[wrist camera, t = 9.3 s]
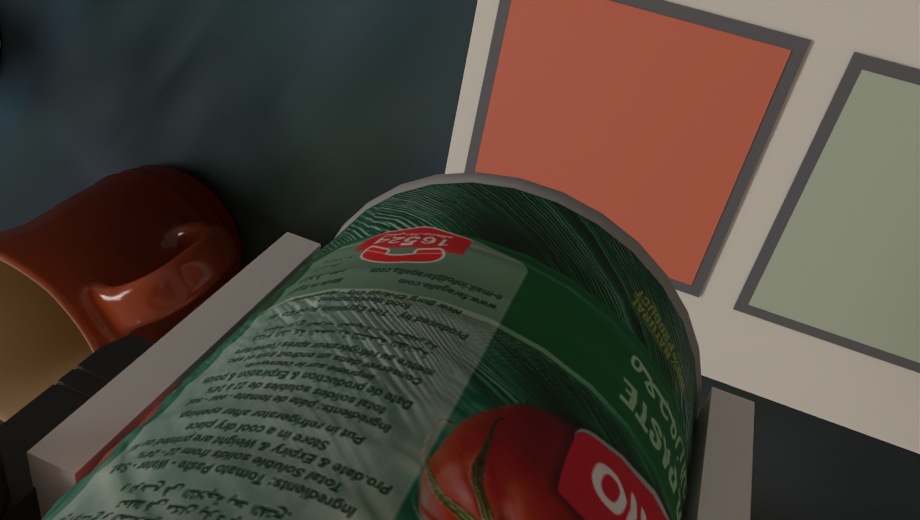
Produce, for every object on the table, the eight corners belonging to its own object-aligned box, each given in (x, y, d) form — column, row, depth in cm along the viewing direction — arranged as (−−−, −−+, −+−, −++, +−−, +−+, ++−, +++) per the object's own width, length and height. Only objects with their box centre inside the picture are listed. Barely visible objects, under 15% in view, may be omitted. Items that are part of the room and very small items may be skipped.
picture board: (971, 455, 28) (978, 477, 27) (434, 263, 32) (424, 276, 31) (1311, 26, 20) (1337, 37, 19) (517, -162, 24) (507, -161, 23)
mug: (169, 321, 40) (8, 454, 31) (76, 169, 37) (-129, 271, 29) (353, 275, 34) (216, 422, 26) (259, 92, 31) (71, 191, 23)
